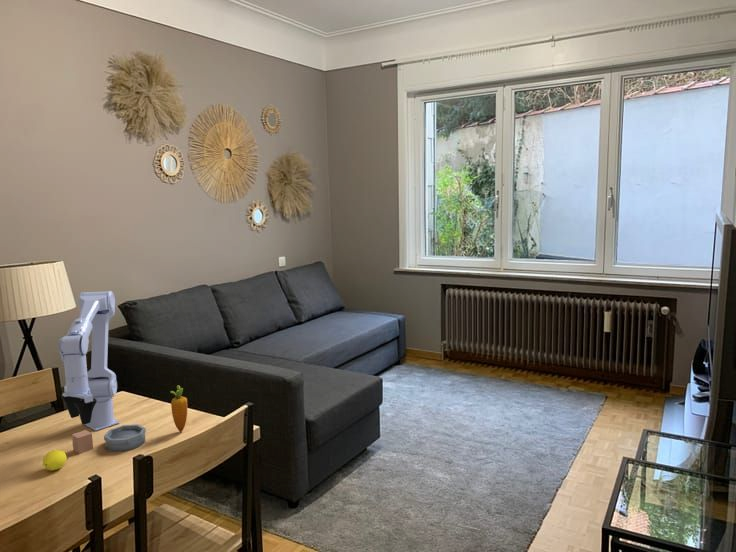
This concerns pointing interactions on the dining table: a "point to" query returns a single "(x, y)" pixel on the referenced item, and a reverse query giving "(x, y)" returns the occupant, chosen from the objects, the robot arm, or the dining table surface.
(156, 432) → the dining table surface
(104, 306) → the robot arm
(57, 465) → the lemon
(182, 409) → the carrot
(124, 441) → the grey ashtray
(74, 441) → the block
